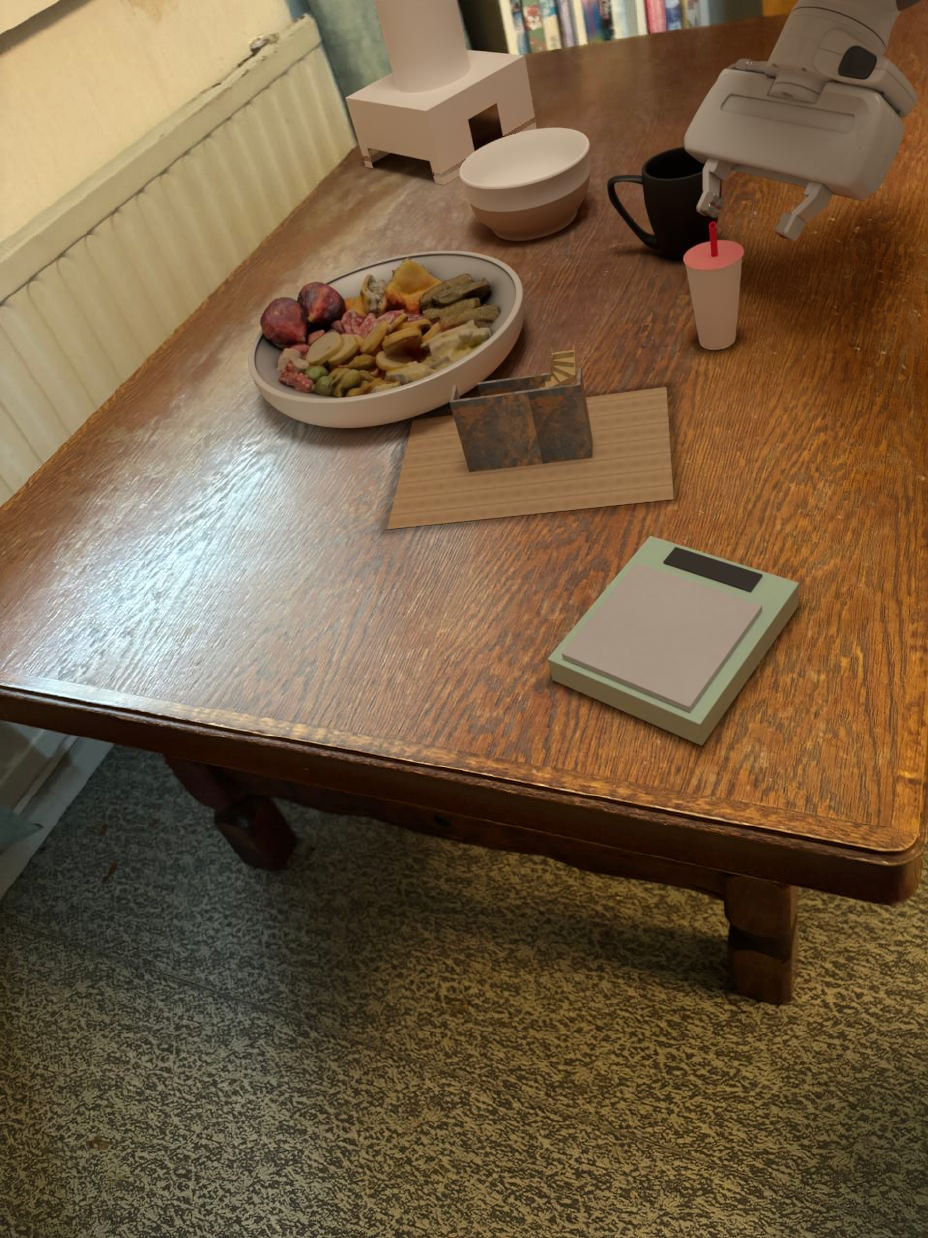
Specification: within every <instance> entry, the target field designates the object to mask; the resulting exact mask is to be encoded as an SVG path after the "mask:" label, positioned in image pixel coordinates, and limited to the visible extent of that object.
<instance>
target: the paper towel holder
mask: <svg viewBox="0 0 928 1238" xmlns="http://www.w3.org/2000/svg"><path fill="white" fill-rule="evenodd" d="M373 1H374V6H375V10H376V13H377V18H378V21H379V24H380V28H381V32H382V37H383V40H384V41H383V42H384V44H385V49H386V52H387V56H388V60H389V64H390V67H391V73H388V74H387V75H385V76H383V77H381V78H379V79H378V80H376V81H374V82H372V83H370V84H368V85H367V86H365V87H363V88H361V89H359V90H356V91H355V92H353V93H352V94H350V95H348V96H346V97H345V101H346V105H347V108H348V112H349V115H350V119H351V122H352V125H353V129H354V133H355V136H356V139H357V143H358V146H359V149H360V152H361V156H362V155H363V156H368V157H370V156H369V152H368V151H370V150H371V149H376V150H381V151H379V152H378V153H376V154H374V155H372V156H371V157H370V159H371V162H369V161H364V160H363V163H364V166H365V168H368V169H369V168H370V169H374V166H373V163H375V162H377V161H378V160H380V159H382V158H384V157H385V156H387V155H389V154H390V153H391V154H395V155H400V156H404V157H410V158H414V159H419V160H422V161H423V160H424V161H428V162H429V165H430V168H431V172H432V173H433V172H435V173H440V174H442V173H443V172H444V171H446V170H448V169H450V168H451V167H452V166H454V165H456V164H458V163H460V162H461V161H462V160H464V159H466V158H467V157H469V156H470V155H471V154H472V153H473V152H475V151H476V150H475V147H474V143H473V137H472V132H471V128H470V125H469V123H470V122H469V120H470V119H472V118H473V117H476V116H477V115H478V114H480V113H482V112H483V111H486V110H487V109H489V108H490V107H492V106H494V105H496V106H497V112H498V118H499V122H500V128H501V133H502V137H503V136H504V135H505V134H508V133H509V132H511V131H512V130H514V129H515V128H517V127H519V126H521V125H522V124H524V123H525V122H527V121H529V120H530V119H532V118H534V117H535V118H536V116H535V109H534V103H533V97H532V91H531V85H530V79H529V73H528V66H527V62H526V55H525V54H515V53H503V52H494V51H483V50H482V51H481V50H473V49H468V48H467V45H466V39H465V34H464V29H463V24H462V20H461V14H460V10H459V5H458V0H373ZM534 129H538V128H537V121H536V122H535V123H533V124H531V125H530V126H528V127H527V128H525V129H523V130H522V131H520V132H524V131H528V130H534ZM520 132H518V133H520ZM363 156H362V157H363ZM459 171H460V168H458V169H457V170H455V171H453V172H452V173H450V174H448V175H447V176H445V177H443V178H439V177H435V176H433V180H434V183H435V184H437V185H442V186H445V185H447V184H449V183H450V182H452V181H454V180H455V179H457V178H459V177H460V176H459Z"/></svg>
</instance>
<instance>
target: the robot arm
mask: <svg viewBox="0 0 928 1238" xmlns="http://www.w3.org/2000/svg"><path fill="white" fill-rule="evenodd" d="M920 2H922V0H798V1H797V2H796V3H795V4H794V6H793V7H792V9H791V11H790V13H789V15H788V17H787V20H786V21H785V24H784V26H783V28H782V30H781V31H780V34H779V36H778V37H777V38H778V39H777V40H776V44H775V45H774V47H773V50H772V52H771V54H770V56H769V58H768V60H767V61H766V60H763V61H762V60H760V61H756V60H753V59H750V58H740V59H738V60H737V61H736V62H735V63H732V64H731V65H729V66H727V67H726V68H724V69H723V70H722V71H721V72H720V73H719V75H718V77H717V79H716V81H715V82H714V83H713V85H712V86H711V88H710V89H709V91H708V93H707V94H706V96H705V98H703V101H702V103H701V104H700V106H699V107H698V109H697V111H696V112H695V114H694V116H693V118H692V120H691V122H690V124H689V125H688V128H687V129H686V132H685V135H684V137H683V143H684V144H683V145H684V146H685V150H686V152H687V153H689V154H690V155H691V156H692V157H694V158H695V159H696V160H698V161H699V162H701V163H703V164H705V166H704V168H703V193H702V196H701V198H700V200H699V202H698V204H697V207H696V209H697V211H698V212H699V213H700V214H702V215H704V216H707V217H711V218H717V216H718V217H719V216H720V211H721V209H723V206H724V204H725V202H726V201H725V200H723V198H722V197H721V198H719V192H720V180H722V182H725V181H727V179H728V177H729V174H730V173H731V171H733V172H737V173H741V174H745V175H748V176H749V175H750V176H754V177H758V178H761V179H767V180H770V181H776V182H778V183H779V182H780V183H782V184H787V185H791V186H796V187H800V188H804V191H803V195H804V196H805V198H804V199H803V200H802V201H801V202H800V204H799V205H797V206H796V207H795V208H794V209H793V210H792V211H791V212H785V211H783V212H782V213H781V216H780V217H779V222H778V223H777V224H776V226H775V229H774V233H775V234H776V235H778V236H779V237H780V238H783V239H785V240H789V241H793V242H796V241H798V240H799V237H800V236H801V233H802V231H803V230H804V228H805V226H806V224H808V223H809V222H810V221H812V220H813V219H814V218H815V217H816V216H818V215H819V214H820V213H821V212H822V211H824V210H825V209H826V208H827V207H828V206H829V204H830V201H831V200H832V197H833V195H834V196H838V197H841V198H846V199H851V200H854V201H855V200H856V201H859V202H863V201H865V200H867V199H868V198H871V196H873V195H874V194H876V193H877V192H878V190H879V189H880V188H881V186H882V184H883V182H884V181H885V179H886V177H887V175H888V173H889V171H890V168H891V166H892V164H893V162H894V160H895V158H896V155H897V154H898V151H899V149H900V145H901V144H902V141H903V137H904V132H905V126H904V122H903V119H904V118H906V117H908V116H909V115H910V114H911V113H912V112H913V110H914V108H915V107H916V105H917V103H918V101H919V95H918V93H917V91H916V90H915V88H914V87H913V85H912V83H910V81H909V80H908V78H907V77H906V75H904V73H903V72H902V71H901V70H900V69H899V68H898V67H897V66H896V65H895V64H894V63H893V62H892V61H891V60H890V59H889V58H888V57H886V56H885V55H884V54H885V53H886V52H887V48H888V45H889V42H890V37H891V33H892V30H893V27H894V25H895V22H896V21H897V19H898V18H899V16H900V14H901V13H902V12H903V11H904V10H905V11H906V10H907V9H909V8H911V7H913V6H915V5H916V4H918V3H920ZM684 146H683V147H684Z"/></svg>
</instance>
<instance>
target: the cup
mask: <svg viewBox="0 0 928 1238" xmlns="http://www.w3.org/2000/svg"><path fill="white" fill-rule="evenodd" d="M709 231H710V241H709V242H705V243H702V244H699V245H696V246H694V247H693V248H691V249H690V250H688V251H687V252H686V253H685V255H684V257H683V260H682V261H683V263H684V264H685V270H686V275H687V281H688V282H687V283H688V287H689V293H690V298H691V299H690V300H691V304H692V309H693V315H694V321H695V327H696V331H697V337H698V341H699V346H700V347H702V348H703V349H705V350H708V351H718V350H719V351H720V350H724V349H726V348H729V347H731V346H732V345H733V344H734V343H735V341H736V335H737V325H738V313H739V304H740V303H739V301H740V290H741V279H742V266H743V265H742V264H743V256H744V254H745V249H744V247H743V246H742V245H741V244H740V243H738V242H736V241H732V240H728V239H727V240H726V239H718V231H717V225H716V223H715V222H711V223H710V225H709Z"/></svg>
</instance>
